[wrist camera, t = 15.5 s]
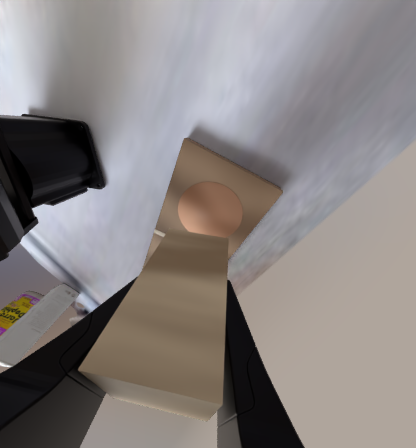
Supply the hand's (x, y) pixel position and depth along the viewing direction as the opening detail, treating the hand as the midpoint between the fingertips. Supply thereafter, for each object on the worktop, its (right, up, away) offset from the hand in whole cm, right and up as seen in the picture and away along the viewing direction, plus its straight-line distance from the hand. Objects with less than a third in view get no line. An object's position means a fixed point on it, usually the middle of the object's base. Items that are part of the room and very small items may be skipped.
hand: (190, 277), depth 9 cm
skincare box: (-31, -12, +24) cm, 41 cm away
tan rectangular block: (0, +1, +2) cm, 2 cm away
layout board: (-1, +1, +11) cm, 11 cm away
